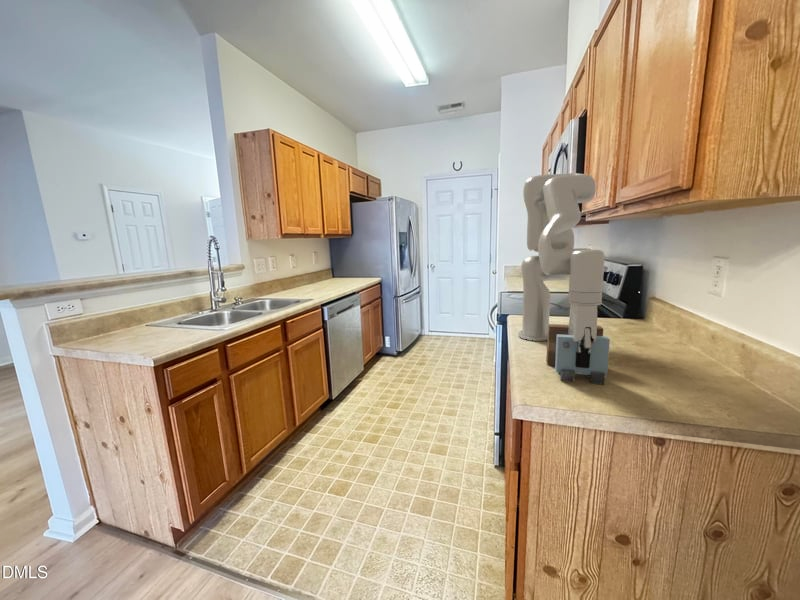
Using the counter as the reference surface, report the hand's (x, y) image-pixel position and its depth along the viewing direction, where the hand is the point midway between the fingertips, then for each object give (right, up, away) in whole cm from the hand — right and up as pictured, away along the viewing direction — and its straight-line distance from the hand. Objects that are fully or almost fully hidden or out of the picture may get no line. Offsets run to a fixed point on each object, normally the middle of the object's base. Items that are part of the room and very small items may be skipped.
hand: (580, 364), depth 86 cm
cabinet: (+3, -2, +10) cm, 11 cm away
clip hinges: (+1, -3, +3) cm, 5 cm away
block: (0, -2, 0) cm, 2 cm away
